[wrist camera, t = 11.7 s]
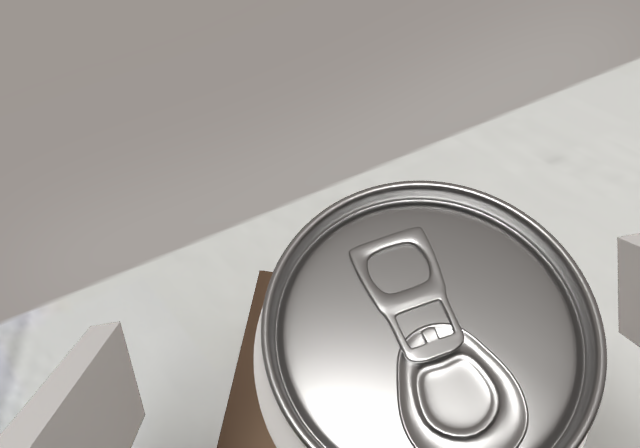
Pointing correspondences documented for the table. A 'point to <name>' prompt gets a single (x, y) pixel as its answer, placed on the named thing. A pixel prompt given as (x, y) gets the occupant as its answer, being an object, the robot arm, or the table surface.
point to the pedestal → (247, 387)
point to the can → (428, 328)
